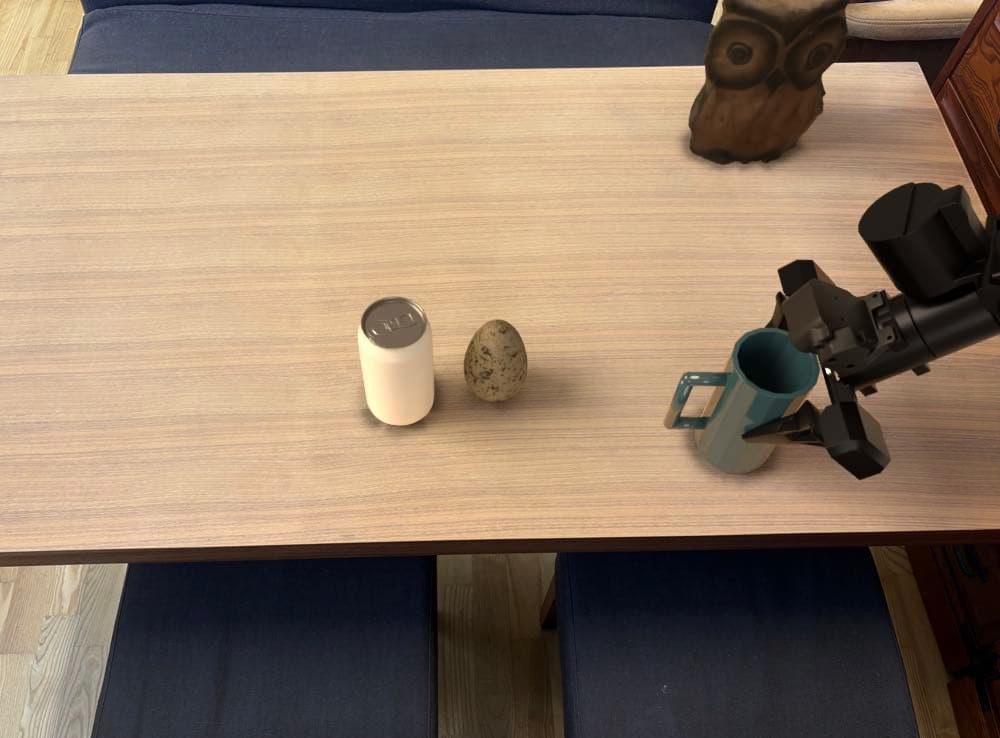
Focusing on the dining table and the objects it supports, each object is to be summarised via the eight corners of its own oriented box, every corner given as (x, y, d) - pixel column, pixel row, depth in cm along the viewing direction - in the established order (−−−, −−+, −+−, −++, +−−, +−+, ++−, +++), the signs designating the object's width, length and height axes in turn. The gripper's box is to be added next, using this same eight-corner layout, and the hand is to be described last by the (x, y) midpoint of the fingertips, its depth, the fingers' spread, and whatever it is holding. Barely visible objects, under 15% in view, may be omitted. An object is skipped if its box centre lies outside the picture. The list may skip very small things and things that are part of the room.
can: (357, 384, 83) (344, 305, 72) (419, 363, 84) (415, 283, 74) (381, 437, 79) (370, 362, 69) (444, 414, 81) (444, 338, 71)
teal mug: (761, 410, 81) (809, 328, 70) (775, 474, 78) (827, 398, 67) (652, 408, 81) (682, 326, 70) (660, 473, 78) (694, 397, 67)
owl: (810, 146, 102) (881, -13, 85) (744, 195, 97) (806, 37, 80) (727, 95, 107) (779, -65, 90) (661, 139, 102) (702, -21, 85)
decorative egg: (515, 359, 84) (522, 294, 76) (531, 409, 81) (540, 346, 73) (457, 370, 84) (457, 305, 75) (470, 420, 80) (473, 358, 72)
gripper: (845, 182, 65) (670, 278, 74) (917, 383, 55) (704, 466, 64) (902, 253, 71) (734, 333, 81) (975, 445, 61) (774, 511, 71)
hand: (736, 403), depth 74 cm, fingers closed on teal mug, 7 cm apart
